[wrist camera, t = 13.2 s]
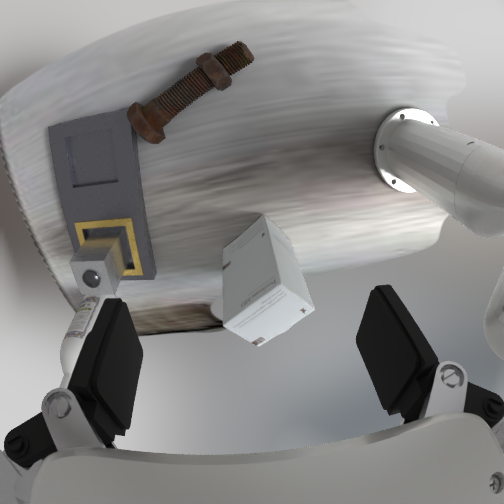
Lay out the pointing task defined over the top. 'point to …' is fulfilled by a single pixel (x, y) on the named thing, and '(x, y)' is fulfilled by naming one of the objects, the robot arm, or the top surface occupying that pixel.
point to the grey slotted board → (103, 184)
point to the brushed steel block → (100, 262)
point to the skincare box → (262, 284)
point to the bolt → (188, 91)
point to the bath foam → (79, 333)
